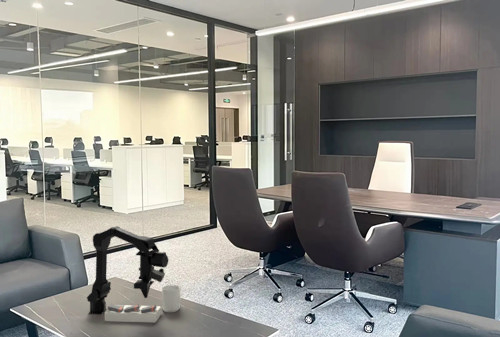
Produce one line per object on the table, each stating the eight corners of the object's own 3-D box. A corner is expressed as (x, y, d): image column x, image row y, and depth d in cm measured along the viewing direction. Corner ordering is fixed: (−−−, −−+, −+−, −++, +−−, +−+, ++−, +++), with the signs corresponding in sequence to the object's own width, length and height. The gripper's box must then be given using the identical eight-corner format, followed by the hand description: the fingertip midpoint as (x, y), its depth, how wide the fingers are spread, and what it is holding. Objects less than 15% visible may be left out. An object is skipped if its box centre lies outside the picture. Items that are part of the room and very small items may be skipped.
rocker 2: (124, 313, 201) (123, 309, 201) (127, 310, 204) (126, 307, 204) (137, 310, 201) (136, 307, 201) (139, 307, 204) (139, 304, 204)
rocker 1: (107, 309, 201) (108, 306, 201) (110, 307, 205) (110, 303, 204) (120, 313, 201) (121, 309, 201) (122, 310, 204) (123, 307, 204)
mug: (172, 314, 209) (173, 291, 209) (158, 311, 213) (158, 289, 213) (186, 306, 220) (186, 284, 220) (172, 303, 224) (172, 282, 224)
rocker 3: (141, 313, 201) (140, 310, 200) (143, 311, 204) (142, 307, 204) (154, 310, 200) (153, 307, 200) (156, 308, 203) (155, 305, 203)
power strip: (104, 321, 200) (104, 312, 200) (112, 312, 210) (112, 304, 210) (155, 322, 199) (155, 313, 199) (160, 314, 209) (160, 305, 209)
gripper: (158, 271, 191) (157, 305, 192) (167, 260, 210) (167, 291, 211) (133, 270, 192) (133, 304, 193) (145, 259, 211) (145, 291, 211)
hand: (145, 297), depth 202 cm, fingers closed
